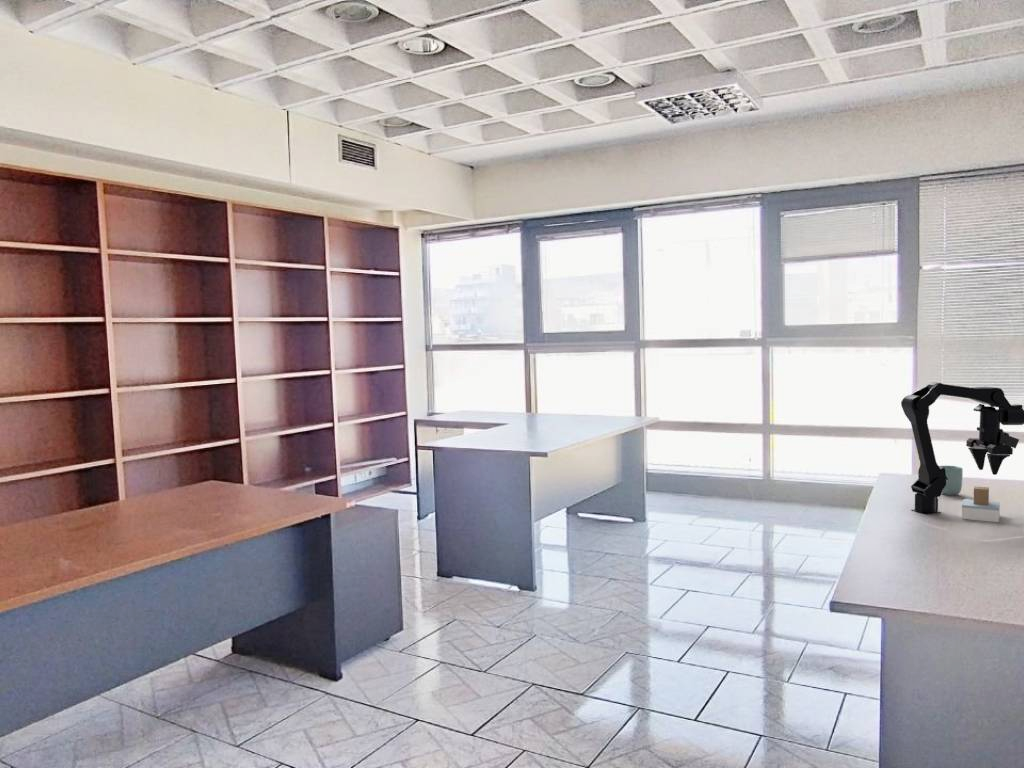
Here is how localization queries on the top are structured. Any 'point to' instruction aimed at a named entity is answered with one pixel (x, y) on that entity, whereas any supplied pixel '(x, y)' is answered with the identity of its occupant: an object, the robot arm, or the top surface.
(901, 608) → the top surface
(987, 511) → the box
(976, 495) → the lid
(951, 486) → the cup
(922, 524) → the top surface
